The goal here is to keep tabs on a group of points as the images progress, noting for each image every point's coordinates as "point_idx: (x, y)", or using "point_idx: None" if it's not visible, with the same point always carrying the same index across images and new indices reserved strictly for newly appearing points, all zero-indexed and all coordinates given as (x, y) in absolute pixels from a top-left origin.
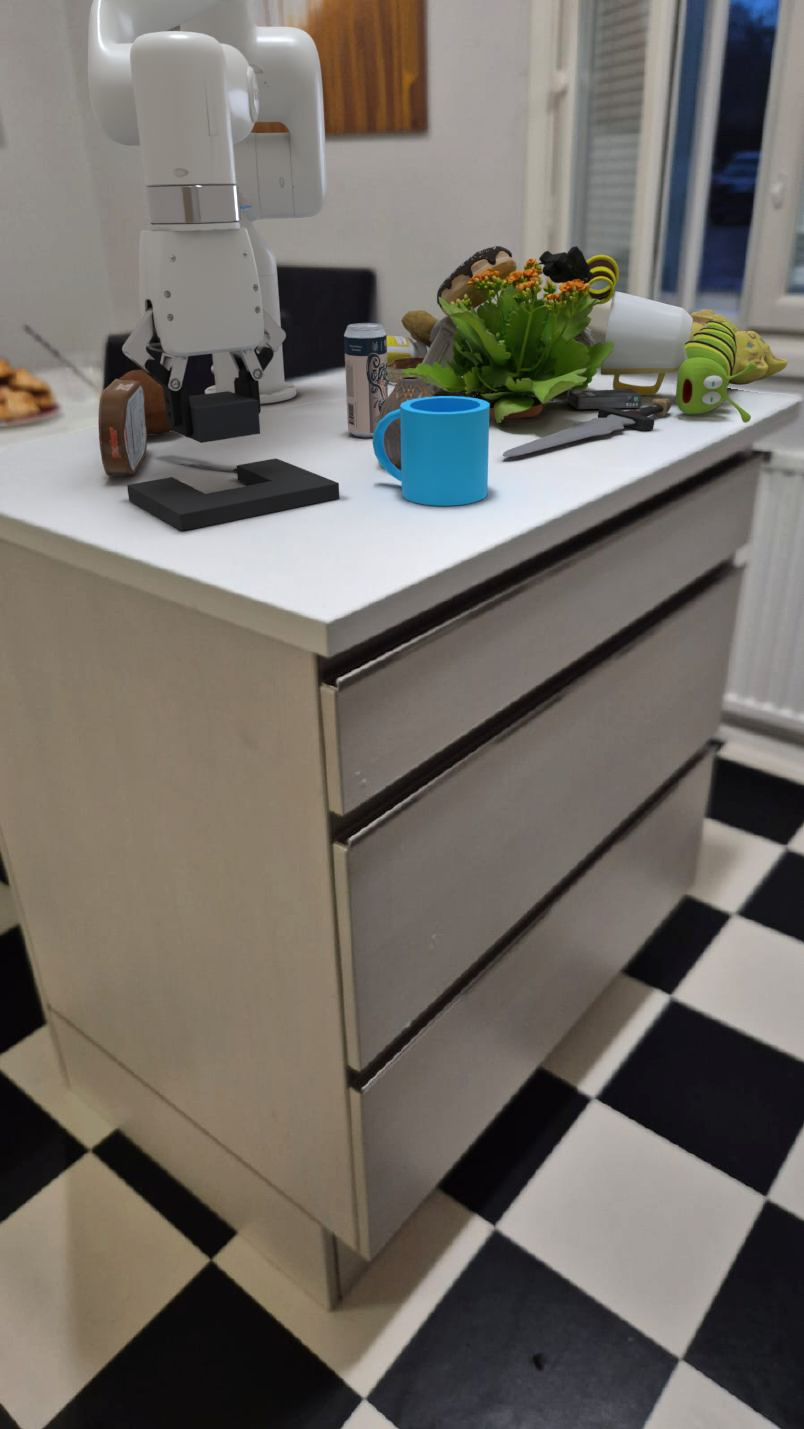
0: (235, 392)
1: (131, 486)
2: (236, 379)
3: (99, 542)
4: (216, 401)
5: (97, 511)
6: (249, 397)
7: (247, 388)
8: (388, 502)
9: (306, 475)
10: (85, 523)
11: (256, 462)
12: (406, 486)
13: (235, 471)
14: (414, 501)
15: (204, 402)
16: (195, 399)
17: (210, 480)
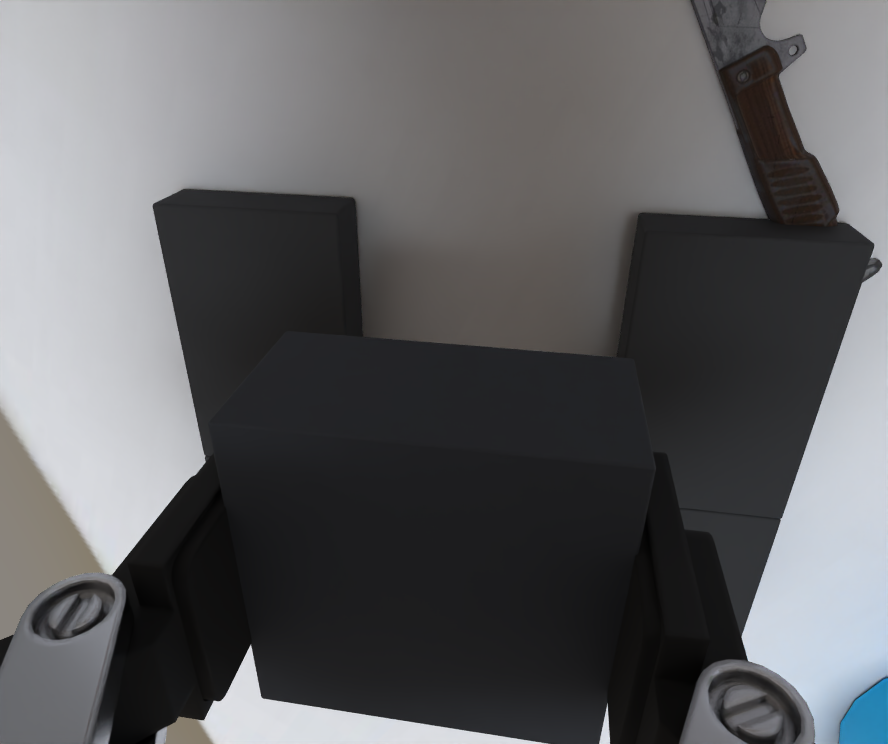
0: (635, 567)
1: (163, 241)
2: (660, 644)
3: (58, 477)
4: (411, 648)
5: (71, 235)
6: (608, 694)
7: (612, 732)
8: (797, 689)
9: (736, 527)
10: (31, 324)
11: (747, 251)
12: (865, 742)
13: (722, 80)
14: (841, 730)
15: (345, 630)
16: (338, 541)
17: (555, 127)
